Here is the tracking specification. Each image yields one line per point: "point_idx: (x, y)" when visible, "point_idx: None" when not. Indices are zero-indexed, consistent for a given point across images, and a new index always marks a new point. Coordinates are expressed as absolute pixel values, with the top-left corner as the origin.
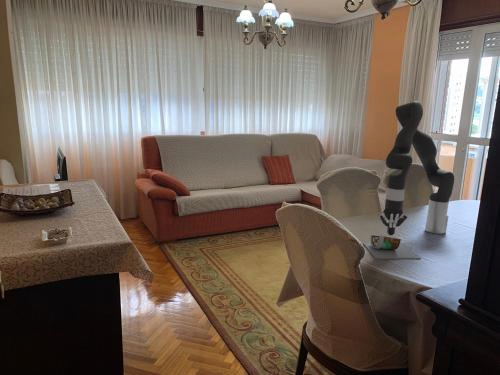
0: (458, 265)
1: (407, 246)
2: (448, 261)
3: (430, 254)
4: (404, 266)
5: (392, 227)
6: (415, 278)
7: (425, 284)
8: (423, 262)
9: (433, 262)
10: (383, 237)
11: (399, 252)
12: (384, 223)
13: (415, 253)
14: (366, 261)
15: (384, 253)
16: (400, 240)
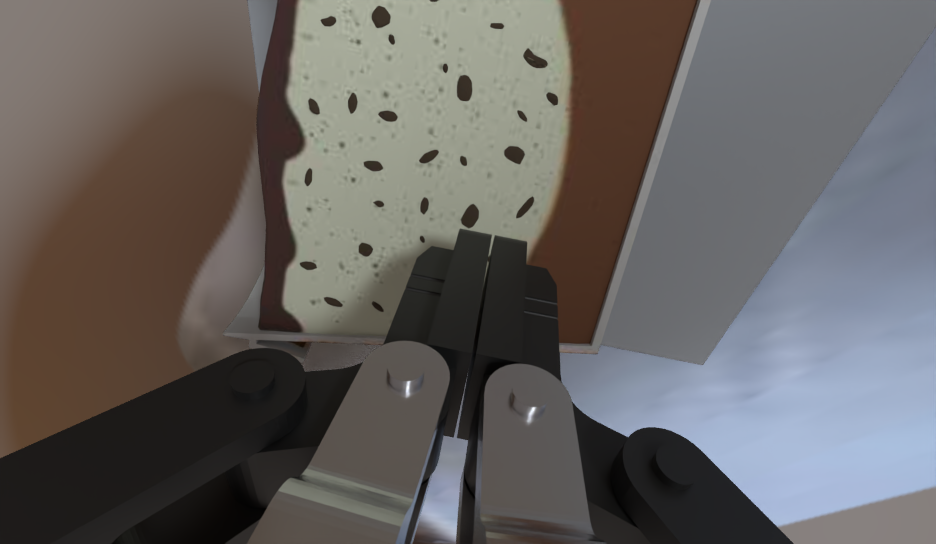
0: (890, 475)
1: (897, 69)
2: (904, 426)
3: (932, 299)
4: (461, 406)
5: (470, 429)
6: (436, 495)
7: (449, 529)
8: (662, 396)
9: (747, 411)
10: (296, 346)
11: None
12: (168, 516)
13: (751, 285)
14: (200, 298)
15: None
16: (591, 342)
